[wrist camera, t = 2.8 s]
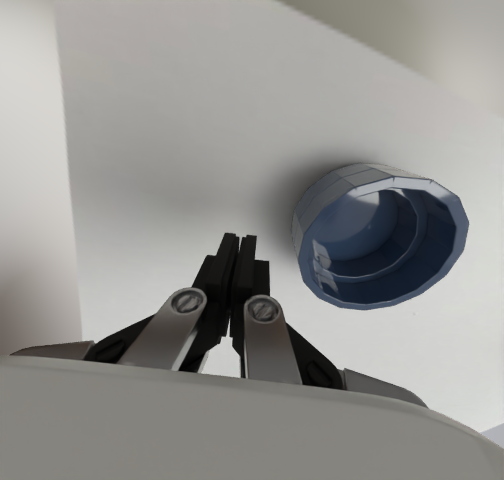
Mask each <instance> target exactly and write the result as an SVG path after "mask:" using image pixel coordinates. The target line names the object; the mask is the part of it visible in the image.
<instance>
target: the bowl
mask: <svg viewBox="0 0 504 480" xmlns="http://www.w3.org/2000/svg"><path fill="white" fill-rule="evenodd" d="M468 227H469V221H468V218H467V216H466V213H465V211H464V208H463V206H462V203H461V201H460V198H459V197H458V196H457V195H455V194H454V193H452V192H451V191H449V190H448V189H446V188H445V187H443V186H442V185H440V184H438V183H437V182H435V181H434V180H432V179H429V178H425V177H422V176H419V175H416V174H412V173H409V172H406V171H403V170H400V169H396V168H393V167H390V166H387V165H378V164H367V163H357V164H353V165H350V166H347V167H343V168H340V169H337V170H333V171H332V172H330V173H328V174H327V175H325V176H324V177H323V178H321V179H320V180H319V181H317V182H316V183H315V184H313V185H312V186H311V187H309V188H308V190H307V191H306V193H305V194H304V196H303V197H302V199H301V200H300V202H299V203H298V205H297V206H296V208H295V210H294V215H293V221H292V226H291V234H292V238H293V242H294V247H295V251H296V255H297V260H298V264H299V268H300V271H301V275H302V279H303V281H304V283H305V284H306V285H307V286H308V287H309V289H310V290H311V291H312V292H313V293H314V294H315V295H316V296H317V297H318V298H319V299H322V300H324V301H326V302H328V303H330V304H333V305H335V306H337V307H340V308H347V309H356V310H371V309H377V308H384V307H390V306H394V305H397V304H399V303H402V302H404V301H406V300H409V299H411V298H414V297H416V296H419V295H420V294H422V293H424V292H425V291H426V290H428V289H429V288H430V287H432V286H433V285H434V284H436V283H437V282H438V281H440V280H441V279H442V278H444V277H445V275H447V274H448V272H449V271H450V269H451V268H452V267H453V265H454V264H455V262H456V261H457V260H458V258H459V257H460V255H461V254H462V253H463V251H464V247H465V242H466V237H467V232H468Z"/></svg>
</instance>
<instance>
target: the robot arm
mask: <svg viewBox="0 0 504 480" xmlns="http://www.w3.org/2000/svg"><path fill="white" fill-rule="evenodd" d="M256 239H257V236H254V235H247V236H246V237H242V241H241V245H240V250H239V237H237V236H236V234H233V233H225V234H224V237H223V239H222V242H221V244H220V247H219V249H218V252H217V254H216V256H213V255H207V256H206V258H205V260H204V262H203V264H202V266H201V268H200V270H199V272H198V274H197V276H196V279H195V281H194V283H193V285H192V287H189V288H183V289H180V290H178V291H176V292H174V293H173V294H172V295H171V296H170V297H169V298H168V299H167V301H166V302H165V303H164V304H163V306H162V307H161V308H160V309H159V311H158V312H157V313H156V314H154V315H152V316H150V317H148V318H146V319H143V320H141V321H139V322H137V323H135V324H133V325H131V326H129V327H127V328H125V329H122V330H120V331H118V332H116V333H114V334H112V335H110V336H108V337H106V338H104V339H103V340H101V341H99V342H98V343H94V341H83V342H74V343H64V344H54V345H45V346H35V347H29V348H25V349H21V350H19V351H17V352H14V353H12V354H10V355H4V356H0V480H504V449H503V448H502V447H500V446H499V445H497V444H496V443H494V442H493V441H491V440H490V439H488V438H486V437H485V436H483V435H482V434H480V433H478V432H477V431H475V430H473V429H471V428H470V427H468V426H466V425H464V424H462V423H460V422H458V421H456V420H454V419H452V418H449V417H447V416H445V415H443V414H440V413H438V412H436V411H433V410H431V409H429V408H428V407H427V406H426V404H425V403H424V402H423V401H422V400H421V399H420V398H419V397H417V396H416V395H415V394H414V393H413V392H411V391H409V390H407V389H404V388H402V387H399V386H396V385H393V384H390V383H387V382H384V381H381V380H378V379H375V378H373V377H370V376H367V375H364V374H361V373H358V372H355V371H352V370H349V369H346V368H344V370H343V371H342V370H339V369H337V368H336V367H335V366H334V365H333V363H332V362H331V361H330V360H329V359H327V358H326V357H325V356H324V355H323V354H322V353H321V352H319V351H318V350H317V349H316V348H315V347H314V346H313V345H311V344H310V343H309V342H308V341H307V340H306V339H305V338H303V337H302V336H301V335H300V334H299V333H298V332H297V331H295V330H294V329H293V328H292V327H291V326H290V325H289V324H287V323H286V321H285V318H284V314H283V310H282V308H281V305H280V304H279V303H278V301H277V300H275V299H274V298H272V297H270V275H269V261H263V260H255V250H256ZM229 319H230V337H233V341H232V347H233V348H234V349H235V350H236V352H237V353H238V354H239V356H240V359H239V362H240V378H236V377H227V376H218V375H209V374H201V372H202V370H203V367H204V365H205V363H206V360H207V358H208V355H209V350H210V349H211V348H213V347H214V346H216V345H217V344H220V342H221V337H222V336H223V337H226V334H227V329H228V324H229Z"/></svg>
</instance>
